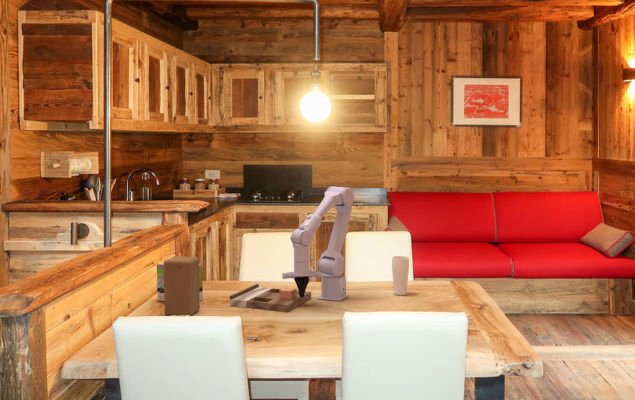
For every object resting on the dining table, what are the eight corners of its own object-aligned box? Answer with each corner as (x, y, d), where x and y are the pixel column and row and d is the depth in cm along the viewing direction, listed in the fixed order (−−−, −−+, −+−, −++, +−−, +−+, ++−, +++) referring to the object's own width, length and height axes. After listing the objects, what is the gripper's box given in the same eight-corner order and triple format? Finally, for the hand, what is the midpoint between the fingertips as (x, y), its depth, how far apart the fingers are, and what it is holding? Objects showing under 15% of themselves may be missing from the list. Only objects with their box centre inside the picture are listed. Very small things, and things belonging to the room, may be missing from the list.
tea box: (156, 301, 251) (155, 263, 249) (173, 295, 260) (172, 259, 258) (187, 306, 244) (186, 267, 242) (203, 300, 253) (203, 262, 251)
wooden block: (190, 317, 228) (188, 261, 226) (163, 316, 230) (162, 260, 228) (200, 310, 238) (199, 256, 236) (175, 308, 240) (174, 255, 238)
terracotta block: (296, 296, 248) (296, 288, 248) (291, 299, 243) (291, 291, 243) (284, 295, 250) (284, 287, 249) (279, 298, 245) (279, 290, 245)
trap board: (311, 298, 255) (311, 288, 255) (288, 312, 235) (288, 302, 234) (256, 292, 264) (256, 283, 264) (229, 305, 244) (229, 296, 243)
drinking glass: (408, 292, 264) (408, 256, 263) (409, 296, 258) (409, 259, 256) (391, 292, 265) (391, 255, 263) (391, 296, 258) (392, 258, 257)
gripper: (317, 258, 249) (317, 293, 250) (280, 260, 245) (280, 295, 246) (322, 261, 242) (322, 297, 243) (284, 263, 238) (284, 299, 240)
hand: (301, 296), depth 244 cm, fingers closed
